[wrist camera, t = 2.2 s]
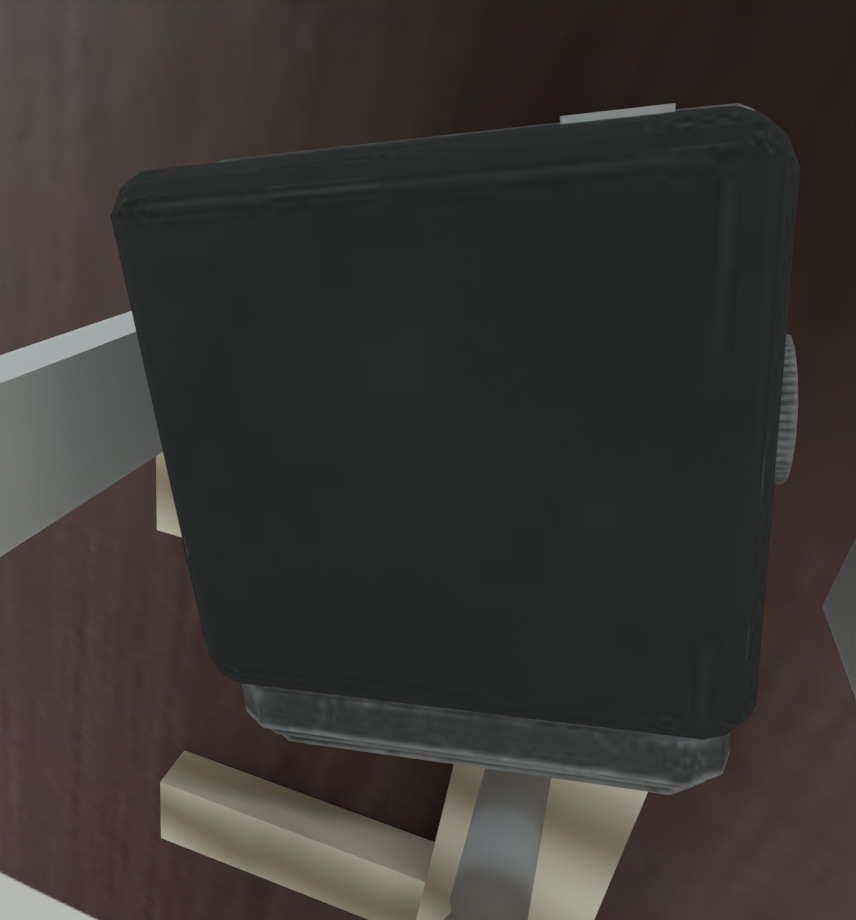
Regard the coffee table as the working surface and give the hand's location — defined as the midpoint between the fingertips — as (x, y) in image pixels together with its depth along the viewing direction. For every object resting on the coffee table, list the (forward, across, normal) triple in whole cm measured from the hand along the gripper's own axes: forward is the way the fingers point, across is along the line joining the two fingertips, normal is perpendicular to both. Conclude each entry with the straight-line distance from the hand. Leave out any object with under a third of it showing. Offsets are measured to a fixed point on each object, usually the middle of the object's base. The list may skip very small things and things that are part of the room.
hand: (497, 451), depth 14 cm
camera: (+10, 0, +1) cm, 10 cm away
